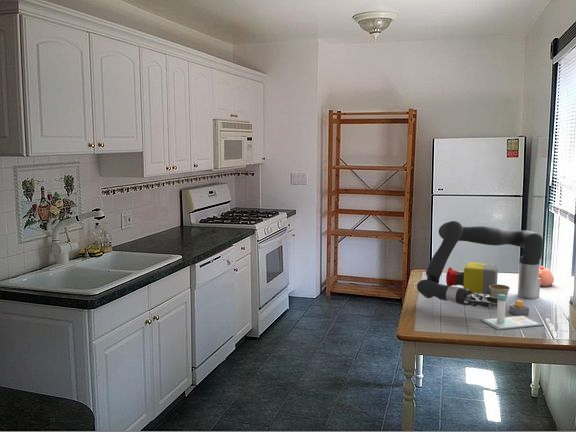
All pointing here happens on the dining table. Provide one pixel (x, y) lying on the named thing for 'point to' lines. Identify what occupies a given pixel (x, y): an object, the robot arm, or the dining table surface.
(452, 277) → the emergency stop button
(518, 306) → the button
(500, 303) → the marker
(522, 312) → the button housing
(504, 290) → the flower pot
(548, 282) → the piggy bank
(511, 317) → the placemat
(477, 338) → the dining table surface
